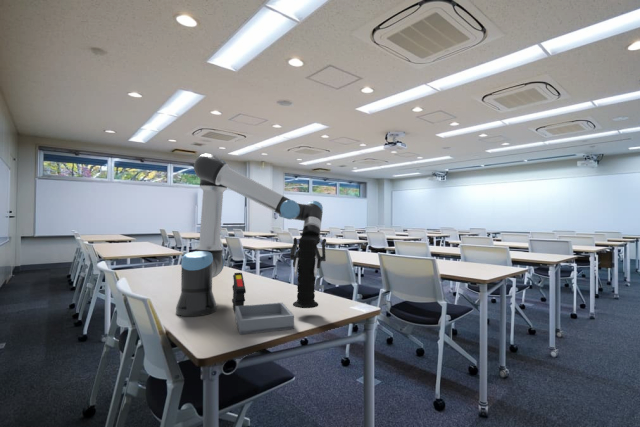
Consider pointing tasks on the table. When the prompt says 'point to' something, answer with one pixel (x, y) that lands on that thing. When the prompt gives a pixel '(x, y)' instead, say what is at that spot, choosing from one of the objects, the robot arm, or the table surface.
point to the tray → (263, 318)
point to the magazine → (238, 290)
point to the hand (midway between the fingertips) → (305, 273)
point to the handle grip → (306, 274)
